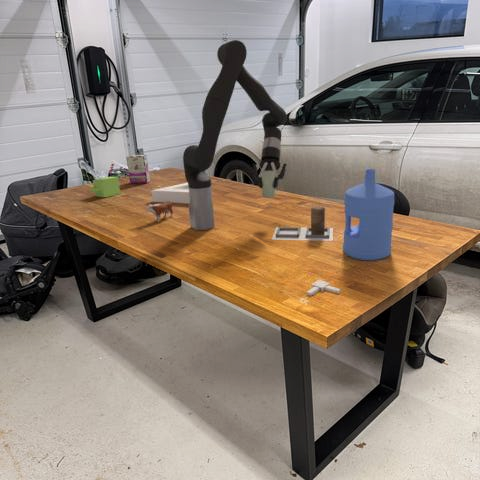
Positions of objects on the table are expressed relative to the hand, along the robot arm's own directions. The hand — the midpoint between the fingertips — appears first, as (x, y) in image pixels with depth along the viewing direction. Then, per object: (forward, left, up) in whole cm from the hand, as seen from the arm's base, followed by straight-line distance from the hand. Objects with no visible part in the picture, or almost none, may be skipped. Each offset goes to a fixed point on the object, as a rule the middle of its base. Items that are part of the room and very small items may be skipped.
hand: (267, 187), depth 178 cm
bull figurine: (-33, +37, -17) cm, 52 cm away
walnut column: (+9, -21, -15) cm, 27 cm away
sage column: (+1, +1, -4) cm, 5 cm away
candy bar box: (-19, +116, -17) cm, 119 cm away
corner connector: (-18, -57, -17) cm, 62 cm away
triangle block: (-7, +67, -17) cm, 69 cm away
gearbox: (-42, +100, -17) cm, 110 cm away
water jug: (+12, -43, -17) cm, 47 cm away
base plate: (+5, -17, -16) cm, 24 cm away
